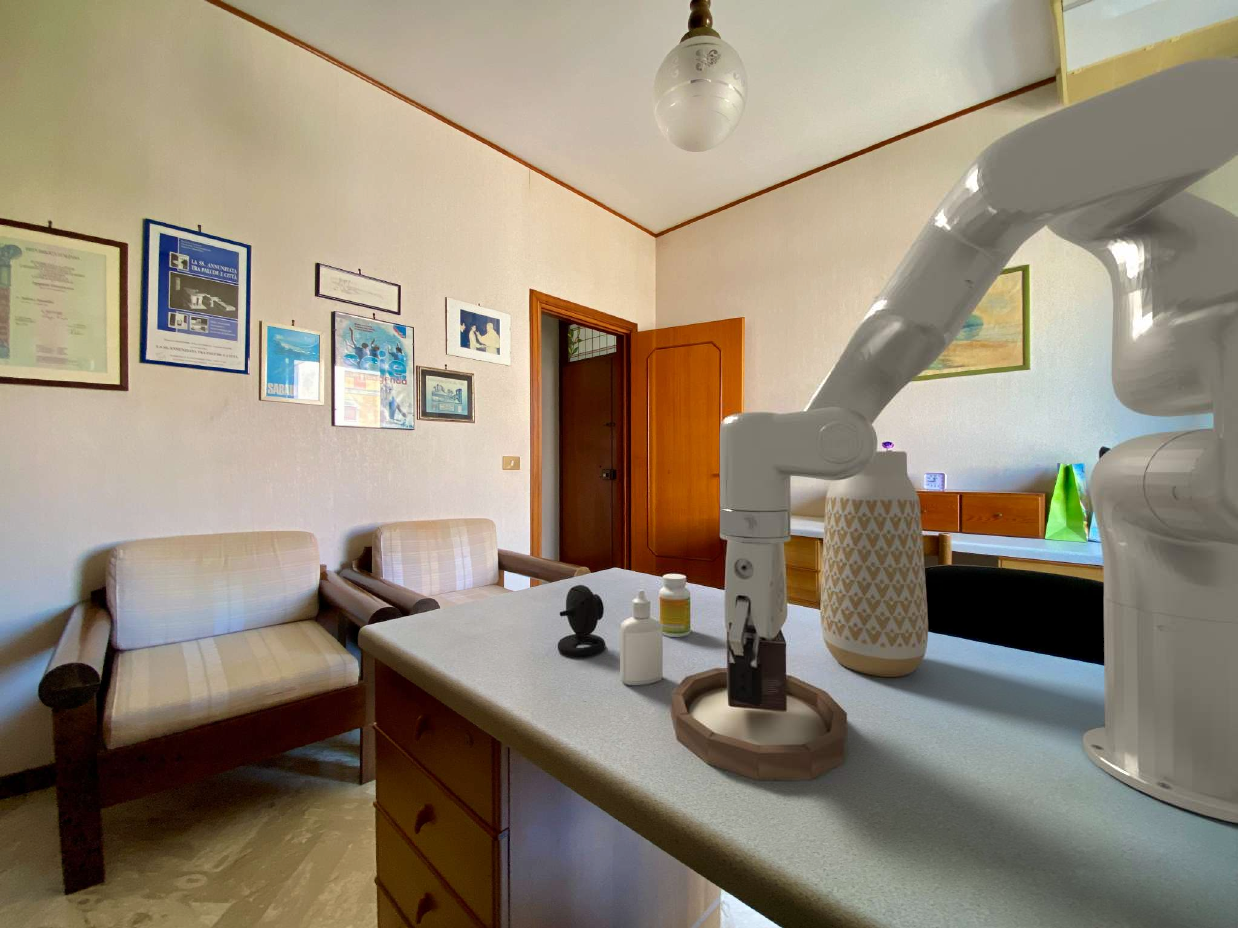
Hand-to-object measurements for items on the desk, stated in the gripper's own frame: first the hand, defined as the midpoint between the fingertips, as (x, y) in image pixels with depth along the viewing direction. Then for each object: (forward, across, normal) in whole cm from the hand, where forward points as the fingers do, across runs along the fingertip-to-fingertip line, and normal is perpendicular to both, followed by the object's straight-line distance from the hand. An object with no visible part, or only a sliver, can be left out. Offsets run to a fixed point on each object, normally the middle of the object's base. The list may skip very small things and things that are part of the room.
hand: (755, 684), depth 52 cm
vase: (+5, +25, -11) cm, 28 cm away
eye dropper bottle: (+5, +4, +16) cm, 17 cm away
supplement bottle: (+5, +23, +19) cm, 30 cm away
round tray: (+5, 0, 0) cm, 5 cm away
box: (+2, 0, 0) cm, 2 cm away
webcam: (+5, +9, +29) cm, 31 cm away
